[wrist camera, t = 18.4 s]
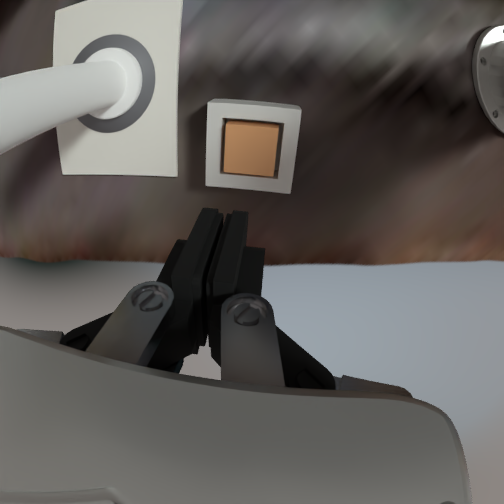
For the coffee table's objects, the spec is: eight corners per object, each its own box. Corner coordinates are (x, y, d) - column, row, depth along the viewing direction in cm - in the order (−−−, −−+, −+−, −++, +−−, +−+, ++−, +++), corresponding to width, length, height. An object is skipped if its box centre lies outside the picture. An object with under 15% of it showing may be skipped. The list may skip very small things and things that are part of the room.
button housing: (298, 105, 23) (301, 110, 21) (289, 181, 27) (290, 194, 25) (215, 98, 23) (207, 102, 21) (212, 173, 28) (205, 185, 25)
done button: (278, 123, 23) (278, 128, 21) (273, 168, 25) (273, 176, 24) (229, 119, 23) (225, 124, 21) (227, 164, 25) (223, 172, 24)
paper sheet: (184, -17, 17) (183, -19, 17) (177, 175, 28) (176, 177, 27) (57, 11, 17) (55, 11, 17) (64, 173, 28) (62, 175, 28)
